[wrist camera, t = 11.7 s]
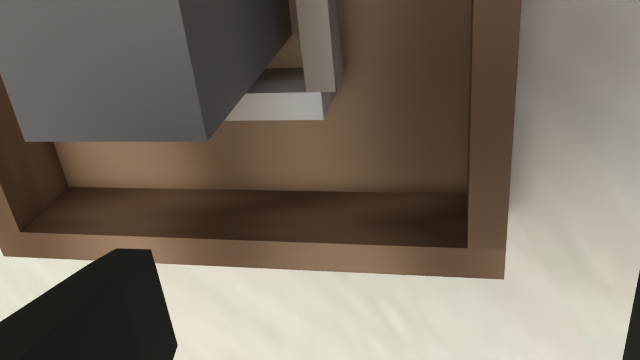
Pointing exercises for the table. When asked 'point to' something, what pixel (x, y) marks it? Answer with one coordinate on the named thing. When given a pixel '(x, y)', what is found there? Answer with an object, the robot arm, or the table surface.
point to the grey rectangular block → (134, 65)
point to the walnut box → (305, 156)
